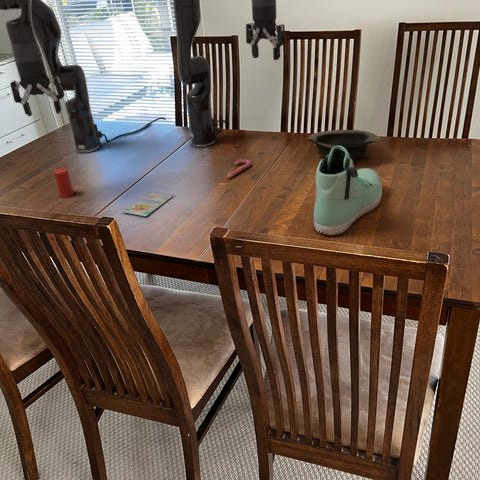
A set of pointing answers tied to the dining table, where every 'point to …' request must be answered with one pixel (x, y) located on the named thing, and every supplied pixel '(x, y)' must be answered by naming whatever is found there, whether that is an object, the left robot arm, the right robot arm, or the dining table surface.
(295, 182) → the dining table surface
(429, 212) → the dining table surface
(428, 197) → the dining table surface
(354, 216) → the sneaker
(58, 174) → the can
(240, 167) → the candy cane
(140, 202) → the baking ingredient package
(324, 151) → the stone bowl
